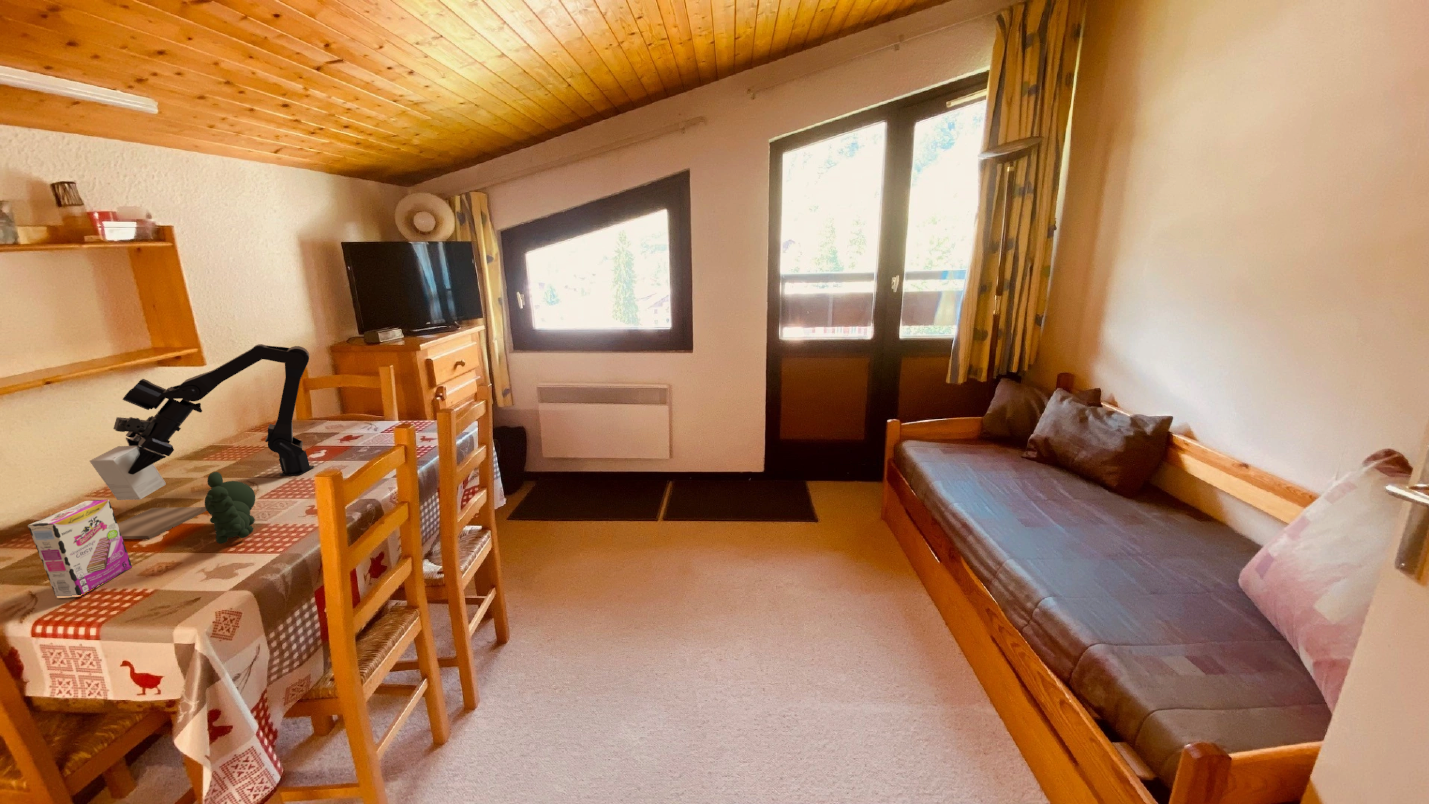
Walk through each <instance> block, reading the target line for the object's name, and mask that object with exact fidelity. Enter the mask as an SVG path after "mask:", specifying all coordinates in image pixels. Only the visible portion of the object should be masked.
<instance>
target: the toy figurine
mask: <svg viewBox="0 0 1429 804" xmlns="http://www.w3.org/2000/svg"><path fill="white" fill-rule="evenodd" d="M207 485H208V486H209V488H210V489H209V490H208V491H207V493H206V496H205V499H204V507H205V508H206V510H207V511H206V512H207V513H208V514H209V515H210V516H211V518H209V519H210V520H209V522H210V523H211V524H213V526H214V531H215V532H214V533H215V534H216V535H215V541H216V543H218V544H221V545H222V544H226V543H227V542H228V540H229V539H230V538H234V537H239V538H240V539H245V538H247V537H248V536H249V535H250V534H251V533H253V532H254V527H253V526H252V525H253V524H254V523H255V521H256V520H255V517H254V516H253V515H251V511H252V509H253V507H254V506H255V502H256V494H255V491H254V489H253V487H252V486H250V485H248V484H246V483H244V482H242V481H237V480H228V481H224V480H223V476H222V474H221V473H220V472H218V471H213V472H211V473H210V474H208V476H207Z"/></svg>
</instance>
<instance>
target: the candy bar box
mask: <svg viewBox="0 0 1429 804" xmlns="http://www.w3.org/2000/svg"><path fill="white" fill-rule="evenodd" d="M115 516H116V515H115V513H114V510H113V508H112V505H111V501H110V499H94V500H85V501H82V502H80V503H77V504H75V505H72V506H71V507H68V508H66V509H64V510H61V511H58V512H56V513H54V514H51V515H49V516H47V517H44V518H42V519H39V520H37V521H35V522H32V523H30V524H28V525H27V527H28V530H29V533H30V536H31V537H32V540H33V543H34V545H35V548H36V550H37V552H38V555H39V558H40V560H41V563H42V564H43V568H44V570H45V572H46V575H47V578H48V580H49V583H50V585H51V588H52V591H53V594H54V596H55V598H56V597H57V596H72V595H81V594H84V593H85V592H87V591H90V590H91V589H93V588H96V587H97V586H98V585H101V584H102V583H104V584H106V583H107V581H108V580H109V581H111V580H113V579H114V578H116V577H118V576H119V574H120V575H122V574H123V573H125V572H127V571H129V570H130V569H131V568H133V565H132V563H131V559H130V557H129V554H128V550H127V548H126V545H125V542H124V540H123V538H122V536H121V533H120V531H119V527H118V522H117V518H116V517H115ZM112 578H113V579H112ZM109 581H108V582H109ZM105 582H106V583H105ZM101 586H102V585H101ZM96 589H97V588H96Z"/></svg>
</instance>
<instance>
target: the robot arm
mask: <svg viewBox="0 0 1429 804" xmlns="http://www.w3.org/2000/svg"><path fill="white" fill-rule="evenodd" d="M262 360H265V361H270V362H271V361H272V362H276V363H283V364H284V373H285V379H284V384H283V388H282V389H283V390H282V394H281V398H280V399H281V400H280V403H279V410H278V415H277V419H276V421H275V424H271V423H269V424H268V427H267V435H266V437H265V442H266V443H267V447H268V449H269V450H270V451H271V452H273V453H277V454H278V458H279V459H278V461H279V466H280V470H281V473H279V474H278V475H279V476H301V475H302V474H304V473H306V472H308V471H310V470H312V469H314V468H315V465H311V464H310V463H309V457H308V454H307V451H306V450H304V449H303V444H304V441H303V440H301V439H299V438H297V437H294V429H293V428H294V427H293V418H294V412H295V408H296V402H297V397H298V393H299V388H300V383H301V379H302V377H303V375H304V372H305V371H306V368H307V366H308V363H309V360H310V353H309V351H308V350H307V348H304V347H303V346H300V345H295V346H291V347H284V346H275V345H274V346H273V345H266V344H263V343H262V344H261V343H260V344H259V343H258V344H256V345H254V346H253V347H252V348H251V349H249V350H247V351H245V352H243V353H241V354H240V355H238V356H236V357H234V358H233V359H231V360H229V361H226V362H225V363H223V364H221V365H220V366H218V367H216V368H215V369H213V370H210V371H207V372H203V373H200V374H198V375H195V376H192V377H190V378H188V379H185V380H183V381H182V383H180V384H178V385H177V384H176V385H173V386H170V387H168V388H164V387H161V386H159V385H157V384H155V383H153V382H151V381H149V379H148V380H147V379H145V378H141V379H140V380H139V381H138V382H137V383H136V384H135V385H134V386H133V387H132V388H131V389H130V390H128V391H127V393H126V394H125V395H124V397H122V401H123V402H124V401H125V402H127V403H129V404H132V405H134V406H137V407H139V408H142V409H144V410H146V411H149V410H153V409H154V410H157V409H158V408H159V407H160V406H161V404H163V403H164V401H165V400H166V399H167V400H166V401H165V403H164V404H163V405H162V407H160V409H158V411H157V412H156V414H155V415H154V416H153V415H151V416H149V417H148V418H147V419H140V418H138V417H132V416H131V417H121V416H119V417H118V416H116V418H115V423H114V425H113V430H114V431H116V432H121V433H125V432H126V434H125V436H126V437H125V441H126V442H127V446H136V447H137V450H138V453H139V454H138V455H137V457H136V459H135V461H134V462H133V464H132V466H131V468H130V469H129V471H128V473H129V474H135V473H137V472H139V471H140V470H142V469H144V468H146V467H148V466H150V465H151V464H155V463H158V462H159V461H161V460H163V459H166V458H167V457H170V456H171V455H172V453H174V451H175V448H174V447H173V445H172V444H171V443H170V442H171V441H170V439H171V438H172V437H173V435H174V434H175V433H176V432H179V431H180V430H181V429H182V427H181V425H183V423H185V421H186V419H187V418H188V417H189V416H190V414H192V412H193V411H195V412H197V413H202V412H203V409H202V408H201V405H202V404H201V402H198V401H201V400H202V399H203V398H205V397H206V396H207V395H208V394H210V393H211V392H212V391H213V390H214V389H215V388H217V387H218V386H219V385H220V384H221V383H223V382H224V381H226V380H228V379H229V378H231V377H233V376H235V375H237V374H239V373H240V372H243V371H244V370H245V369H248V368H249V367H251V366H253V365H255V364H256V363H258V362H260V361H262ZM179 399H181V400H180V401H179ZM193 402H197V403H193ZM140 446H141V447H140Z"/></svg>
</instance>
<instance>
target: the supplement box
mask: <svg viewBox="0 0 1429 804" xmlns="http://www.w3.org/2000/svg"><path fill="white" fill-rule="evenodd" d="M140 447H141V446H140ZM138 454H139V453H138V450H137V447H136V446H129V445H121V446H120V445H119V446H116V447H113V448H112V449H110V450H108V451H106V452H104V453H102V454H100V455H98V456H96V457H94V458H92V459H91V460H89V462H90V464H91V466H92V467H93V468H94V469H95V471H96V472H97V473H98V476H100V478H101V479H102V480H103V482H104V483H105V485H106V486H107V488H108V489H109V490H110V491H111V493H112V494H113V496H114V498H115V499H116V500H117V501H126V500H127V501H129V500H130V501H133V500H134V501H136V500H137V501H140V500H142V499H145V497H147V496H149V495H150V494H152V493H154V492H155V491H157V490H159V489H161V488H163V487H164V486H166V484H167V483H166V481H165V480H164V478H163V477H162V475H161V473H160V472H159V470H158V468H157V467H156V466H155V465H154V464H155V463H153V464H151V465H150V466H148V467H146V468H144V469H142V470H140V471H139V472H137V473H135V474H129V473H128V471H129V469H130V468H131V466H132V464H133V462H134V461H135V459H136V457H137V455H138Z"/></svg>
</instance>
